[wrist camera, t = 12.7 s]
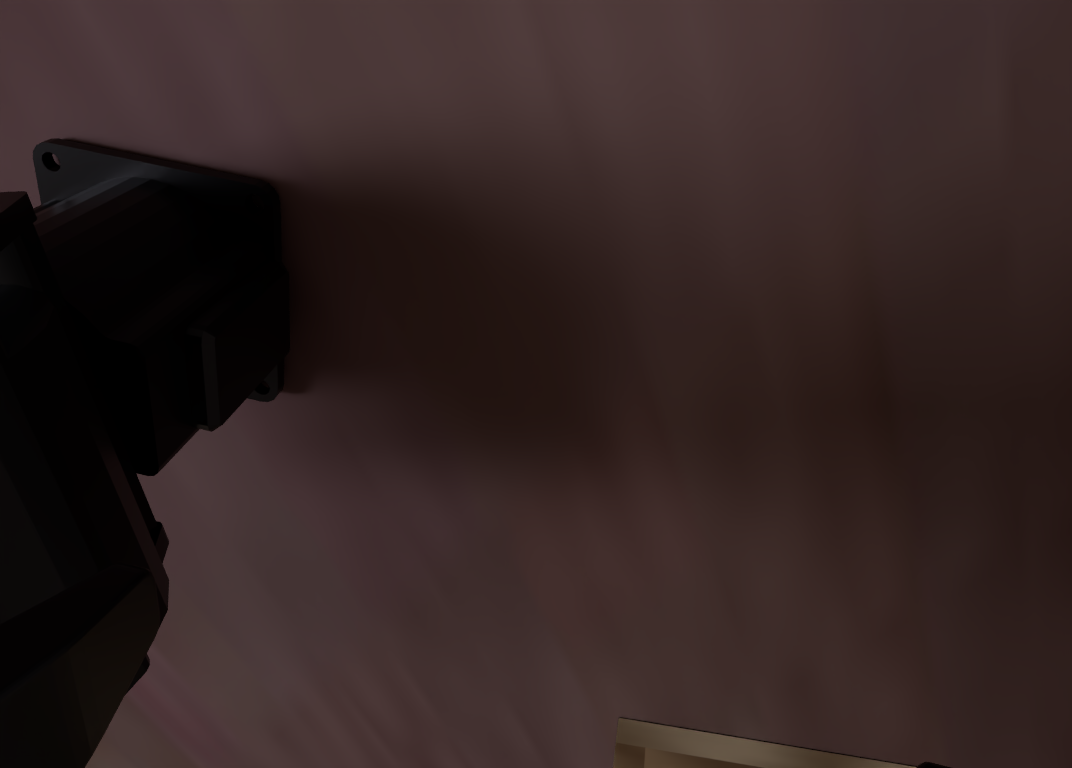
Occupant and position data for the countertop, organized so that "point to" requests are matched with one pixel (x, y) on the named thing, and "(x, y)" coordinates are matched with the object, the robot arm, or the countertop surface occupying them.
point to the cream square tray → (717, 751)
